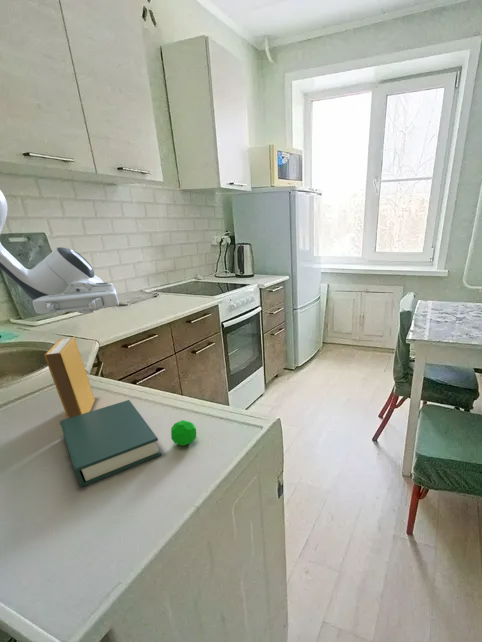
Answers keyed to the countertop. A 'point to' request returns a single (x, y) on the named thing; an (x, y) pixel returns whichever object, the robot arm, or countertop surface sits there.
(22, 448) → the countertop surface
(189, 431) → the polyhedron
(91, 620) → the countertop surface
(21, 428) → the countertop surface
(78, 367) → the paperback
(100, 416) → the hardcover
